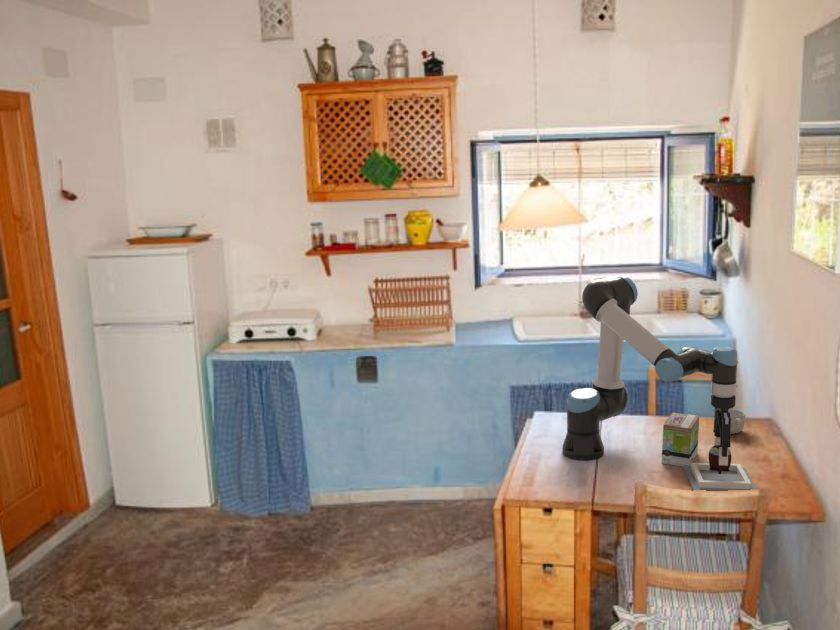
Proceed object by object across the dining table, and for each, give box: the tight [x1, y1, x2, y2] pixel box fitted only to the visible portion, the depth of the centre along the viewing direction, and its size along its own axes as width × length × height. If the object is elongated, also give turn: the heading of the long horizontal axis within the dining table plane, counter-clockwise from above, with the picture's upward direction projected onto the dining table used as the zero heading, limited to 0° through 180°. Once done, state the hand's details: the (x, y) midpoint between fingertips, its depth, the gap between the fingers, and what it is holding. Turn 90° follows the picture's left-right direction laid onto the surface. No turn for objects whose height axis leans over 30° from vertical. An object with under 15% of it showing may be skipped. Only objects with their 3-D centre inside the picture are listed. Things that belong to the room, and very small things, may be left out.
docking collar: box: [683, 462, 758, 491], centre depth 262 cm, size 20×20×3 cm
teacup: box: [728, 408, 747, 435], centre depth 304 cm, size 14×11×8 cm
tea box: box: [661, 412, 700, 468], centre depth 281 cm, size 15×10×15 cm, turn 151°
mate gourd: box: [708, 424, 733, 474], centre depth 260 cm, size 8×8×15 cm
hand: (720, 460), depth 261 cm, fingers closed on mate gourd, 7 cm apart
